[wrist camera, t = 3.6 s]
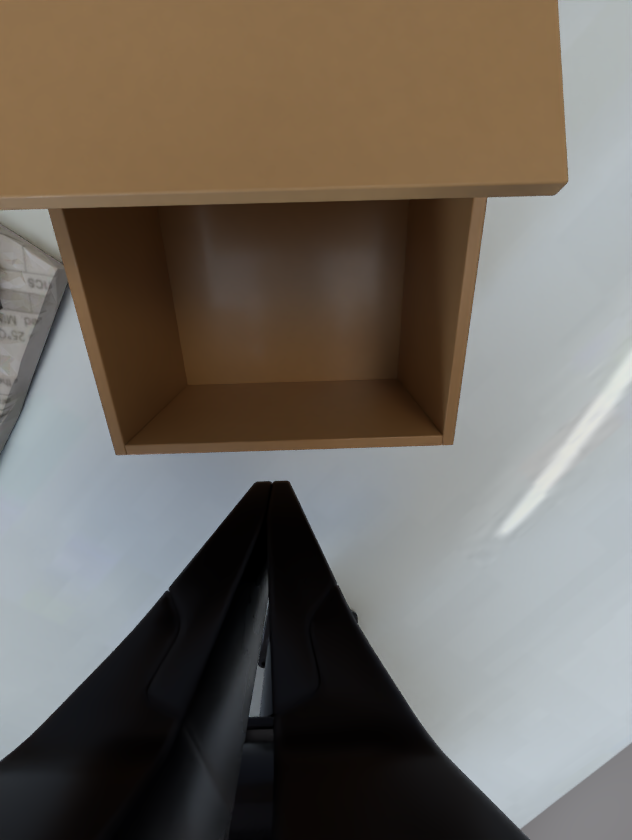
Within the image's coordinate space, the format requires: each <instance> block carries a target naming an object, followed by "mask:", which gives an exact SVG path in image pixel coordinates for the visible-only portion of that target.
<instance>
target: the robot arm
mask: <svg viewBox="0 0 632 840" xmlns="http://www.w3.org/2000/svg"><path fill="white" fill-rule="evenodd" d="M268 597H269V606H268V611H267V616H266V621H265V615H266V609H267V603H268ZM264 621H265V627H264ZM357 623H358V618H357V614H356V613H354V612H351V610H350V608H349V606H348V604H347V602H346V600H345V598H344V596H343V594H342V592H341V590H340V588H339V586H338V585H337V582H336V580H335V577H334V575H333V573H332V571H331V569H330V567H329V565H328V563H327V560H326V558H325V556H324V554H323V552H322V550H321V548H320V546H319V543H318V541H317V539H316V537H315V535H314V533H313V531H312V529H311V526H310V524H309V522H308V520H307V518H306V516H305V514H304V511H303V509H302V507H301V505H300V503H299V501H298V499H297V497H296V494H295V492H294V490H293V488H292V486H291V484H290V482H289V481H274V482H273V483H272V482H270V481H262V482H256V483H254V484H253V486H252V487H251V488H250V489H249V490H248V492H247V493H246V494H245V495H244V497H243V498H242V499H241V500H240V501H239V503H238V504H237V505H236V506H235V508H234V509H233V510H232V511H231V512H230V514H229V515H228V516H227V517H226V519H225V520H224V521H223V522H222V523H221V525H220V526H219V527H218V528H217V530H216V531H215V532H214V533H213V534H212V536H211V537H210V538H209V539H208V541H207V542H206V543H205V544H204V545H203V547H202V548H201V549H200V550H199V552H198V553H197V554H196V555H195V556H194V558H193V559H192V560H191V561H190V563H189V564H188V565H187V566H186V567H185V569H184V570H183V571H182V572H181V574H180V575H179V576H178V577H177V578H176V580H175V581H174V582H173V583H172V585H171V586H170V587H169V591H166V592H165V593H164V594H163V595H162V597H161V598H160V599H159V600H158V601H157V603H156V604H155V605H154V606H153V607H152V609H151V610H150V611H149V612H148V613H147V614H146V616H145V617H144V618H143V619H142V620H141V621H140V623H139V624H138V625H137V626H136V627H135V628H134V630H133V631H132V632H131V633H130V634H129V635H128V636H127V637H126V638H125V639H124V640H123V641H122V642H121V643H120V645H119V646H118V647H117V648H116V649H115V650H114V651H113V652H112V653H111V654H110V655H109V656H108V657H107V658H106V659H105V660H104V661H103V662H102V663H101V664H100V666H99V667H98V668H97V669H96V670H95V671H94V672H93V673H92V674H91V675H90V676H89V677H88V678H87V679H86V680H85V681H84V682H83V683H82V684H81V685H80V686H79V687H78V688H77V689H76V690H75V691H74V692H73V693H72V694H71V695H70V696H69V697H68V698H67V699H66V700H65V701H64V702H63V704H62V705H61V706H60V707H59V708H58V709H57V710H56V711H55V712H54V713H53V714H52V715H51V716H50V717H49V718H48V719H47V720H46V721H45V722H44V723H43V724H42V725H41V726H40V727H39V728H38V729H37V730H36V731H35V732H34V733H33V734H32V735H31V736H30V737H28V738H27V739H26V740H25V741H24V742H23V743H22V744H21V745H19V746H18V747H17V748H16V749H15V750H14V751H12V752H11V753H10V754H8V755H7V756H6V757H5V758H3V759H2V760H1V761H0V840H530V839H529V838H528V837H527V836H526V835H525V834H524V833H523V832H522V831H521V830H520V829H519V828H518V827H517V826H516V825H515V824H514V823H513V822H512V821H511V820H510V819H509V818H508V817H507V816H506V815H505V814H504V813H503V812H502V811H501V810H500V809H499V808H498V807H497V806H496V805H495V804H494V803H493V802H492V801H491V800H490V799H489V798H488V797H487V796H486V795H485V794H484V793H483V792H482V791H481V790H480V789H479V788H478V787H477V786H476V785H475V784H474V783H473V782H472V781H471V780H470V779H469V778H468V777H467V776H466V775H465V774H464V773H463V772H462V771H461V770H460V769H459V768H458V767H457V766H456V765H455V764H454V763H453V762H452V761H451V760H450V759H449V758H448V757H447V756H446V755H445V754H444V753H443V751H442V750H441V749H440V748H439V747H438V745H437V744H436V743H435V742H434V740H433V739H432V738H431V737H430V735H429V734H428V733H427V731H426V730H425V728H424V727H423V726H422V724H421V723H420V721H419V720H418V718H417V717H416V716H415V714H414V713H413V711H412V710H411V708H410V706H409V705H408V703H407V702H406V700H405V699H404V697H403V696H402V694H401V692H400V691H399V689H398V688H397V686H396V685H395V683H394V681H393V680H392V678H391V677H390V675H389V674H388V672H387V671H386V669H385V667H384V666H383V664H382V663H381V661H380V660H379V658H378V656H377V655H376V653H375V652H374V650H373V649H372V647H371V645H370V644H369V642H368V640H367V639H366V637H365V635H364V634H363V632H362V630H361V629H360V627H359V625H358V624H357ZM263 627H264V632H263ZM262 633H263V638H262ZM261 639H262V643H261ZM260 645H261V648H260ZM259 651H260V654H259ZM258 657H259V660H258ZM257 663H258V665H259V666H260V667H262V668H265V671H264V680H263V689H262V698H261V708H260V717H249V711H250V705H251V699H252V693H253V687H254V681H255V675H256V669H257Z"/></svg>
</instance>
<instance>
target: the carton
mask: <svg viewBox="0 0 632 840" xmlns="http://www.w3.org/2000/svg"><path fill="white" fill-rule="evenodd" d="M486 203H487V197H477V198H439V199H401V200H363V201H325V202H287V203H249V204H211V205H172V206H134V207H96V208H58V209H48V211H49V214H50V218H51V221H52V225H53V229H54V232H55V236H56V240H57V243H58V247H59V250H60V254H61V258H62V261H63V265H64V269H65V272H66V276H67V279H68V283H69V287H70V290H71V294H72V298H73V301H74V305H75V309H76V312H77V316H78V319H79V323H80V327H81V330H82V334H83V338H84V341H85V345H86V348H87V352H88V356H89V359H90V363H91V367H92V370H93V374H94V377H95V381H96V385H97V388H98V392H99V396H100V399H101V403H102V407H103V410H104V414H105V417H106V421H107V425H108V428H109V432H110V436H111V439H112V443H113V446H114V450H115V454H116V455H127V454H128V455H143V454H175V453H207V452H240V451H272V450H304V449H337V448H369V447H401V446H434V445H453V441H454V434H455V427H456V420H457V413H458V405H459V398H460V391H461V384H462V376H463V369H464V362H465V355H466V347H467V340H468V333H469V326H470V319H471V311H472V304H473V297H474V290H475V282H476V275H477V268H478V261H479V254H480V246H481V239H482V232H483V225H484V217H485V210H486Z"/></svg>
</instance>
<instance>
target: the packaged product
mask: <svg viewBox="0 0 632 840" xmlns="http://www.w3.org/2000/svg"><path fill="white" fill-rule="evenodd" d="M67 283H68V279H67V276H66V272H65V269H64V265H63V264H62V263H60V262H59V261H57V260H55V259H54V258H52V257H51V256H49V255H48V254H46V253H45V252H43V251H42V250H40V249H39V248H37V247H35V246H34V245H32V244H31V243H29V242H28V241H26V240H25V239H23V238H22V237H20V236H18V235H17V234H15V233H14V232H12V231H11V230H9V229H8V228H6V227H4V226H3V225H1V224H0V453H1V451H2V449H3V447H4V445H5V443H6V441H7V439H8V437H9V435H10V433H11V431H12V429H13V427H14V425H15V423H16V421H17V419H18V417H19V415H20V412H21V409H22V406H23V403H24V400H25V397H26V394H27V392H28V389H29V386H30V383H31V380H32V377H33V374H34V372H35V369H36V366H37V363H38V361H39V358H40V355H41V353H42V350H43V347H44V345H45V342H46V339H47V336H48V334H49V331H50V328H51V326H52V323H53V320H54V318H55V315H56V312H57V310H58V307H59V304H60V301H61V299H62V296H63V293H64V291H65V288H66V285H67Z"/></svg>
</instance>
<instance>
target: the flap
mask: <svg viewBox="0 0 632 840" xmlns="http://www.w3.org/2000/svg"><path fill="white" fill-rule="evenodd" d="M567 182H568V167H567V150H566V133H565V116H564V99H563V82H562V65H561V48H560V31H559V14H558V0H0V210H20V209H58V208H96V207H134V206H172V205H211V204H249V203H287V202H325V201H363V200H401V199H439V198H477V197H515V196H553V195H555V194H557V193H558V192H559V191H560V190H561V189H562V188H563V187H564V186H565V185H566V184H567Z"/></svg>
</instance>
